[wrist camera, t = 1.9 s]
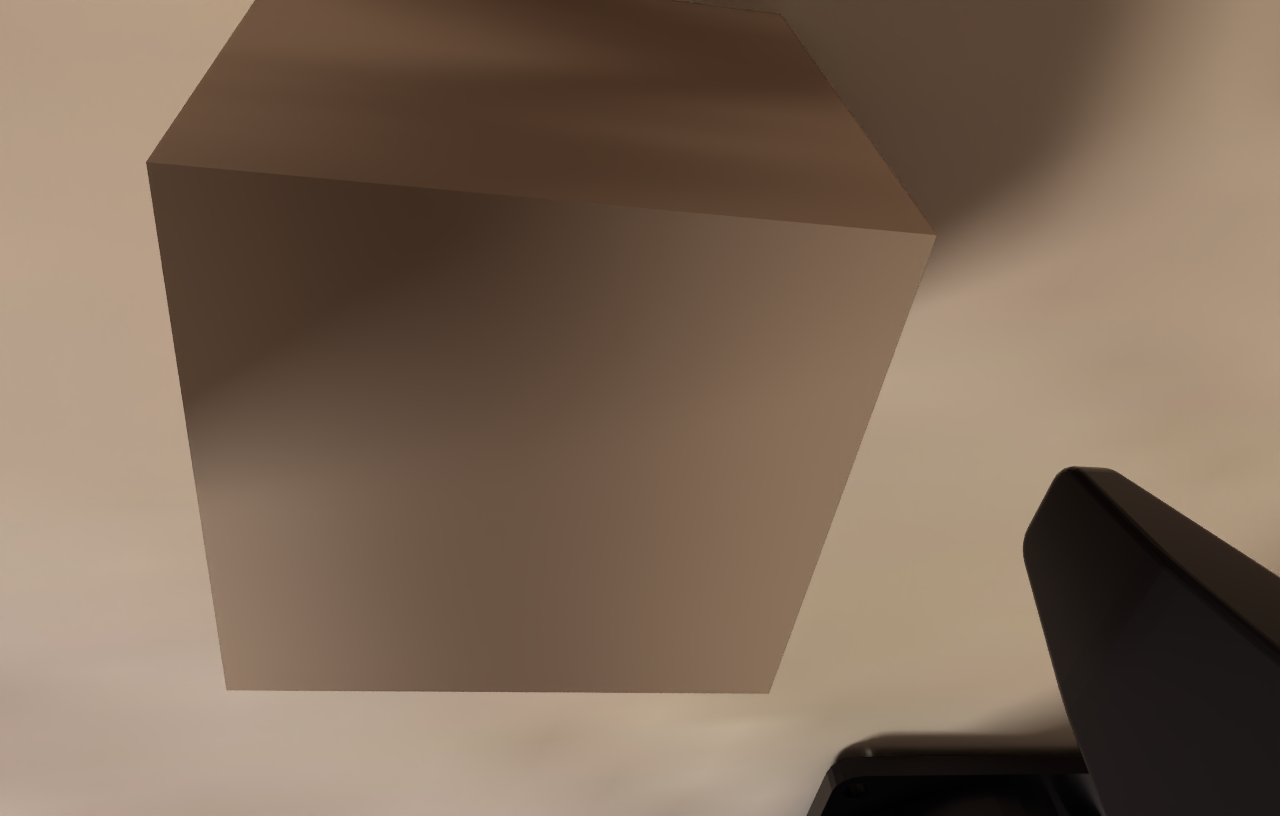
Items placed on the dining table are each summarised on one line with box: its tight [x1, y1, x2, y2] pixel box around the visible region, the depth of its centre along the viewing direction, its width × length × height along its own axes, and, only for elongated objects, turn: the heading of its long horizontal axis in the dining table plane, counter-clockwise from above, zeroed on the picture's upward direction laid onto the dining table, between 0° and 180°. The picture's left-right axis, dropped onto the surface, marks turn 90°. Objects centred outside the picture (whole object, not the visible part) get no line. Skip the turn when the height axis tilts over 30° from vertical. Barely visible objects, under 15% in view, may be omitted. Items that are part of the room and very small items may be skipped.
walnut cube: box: [146, 0, 937, 694], centre depth 10 cm, size 5×5×5 cm
